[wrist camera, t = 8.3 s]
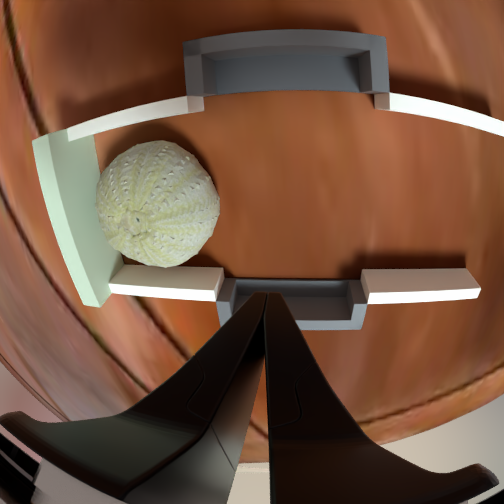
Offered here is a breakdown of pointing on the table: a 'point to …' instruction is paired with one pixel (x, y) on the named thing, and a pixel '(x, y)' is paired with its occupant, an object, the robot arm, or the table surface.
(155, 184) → the sea urchin shell
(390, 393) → the table surface
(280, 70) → the trap lane
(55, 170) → the end block
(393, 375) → the table surface
